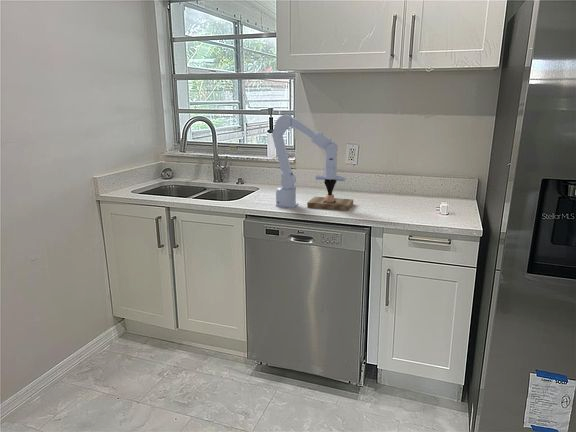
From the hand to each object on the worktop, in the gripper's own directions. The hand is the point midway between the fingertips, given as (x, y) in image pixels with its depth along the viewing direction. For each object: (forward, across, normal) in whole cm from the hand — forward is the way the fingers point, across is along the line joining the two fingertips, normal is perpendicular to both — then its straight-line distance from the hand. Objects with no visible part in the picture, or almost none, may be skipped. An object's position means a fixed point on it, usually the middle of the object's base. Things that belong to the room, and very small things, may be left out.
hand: (330, 194), depth 208 cm
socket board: (+6, 0, +2) cm, 6 cm away
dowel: (+6, 0, 0) cm, 6 cm away
